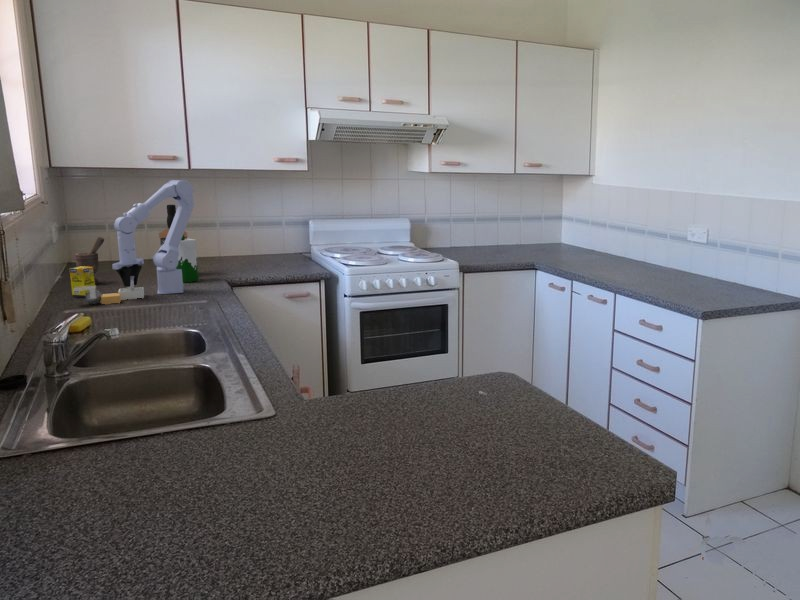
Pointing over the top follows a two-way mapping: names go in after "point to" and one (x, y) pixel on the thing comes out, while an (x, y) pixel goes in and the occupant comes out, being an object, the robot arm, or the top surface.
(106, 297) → the block
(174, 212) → the whiskey bottle
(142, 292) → the tray
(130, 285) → the pin
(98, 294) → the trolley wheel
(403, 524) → the top surface
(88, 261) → the mortar and pestle
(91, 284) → the supplement box
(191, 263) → the milk carton
